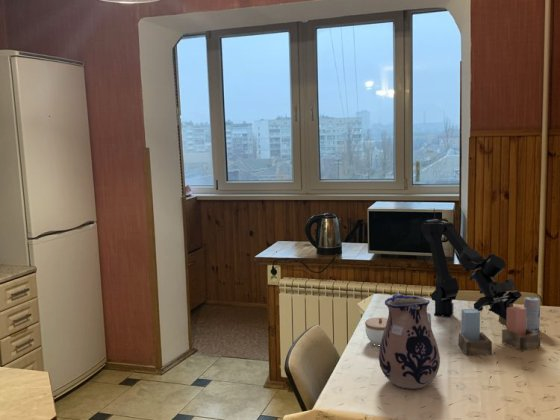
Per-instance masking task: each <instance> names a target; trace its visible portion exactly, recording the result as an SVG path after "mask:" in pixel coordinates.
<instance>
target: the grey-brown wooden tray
mask: <svg viewBox="0 0 560 420" xmlns="http://www.w3.org/2000/svg"><path fill="white" fill-rule="evenodd" d="M541 335H542V334H541V333H540V332H539V331H537V332H535V331H532V330H529V329H526V335H524V336H521V335H519V334H516V333H513V332H510V331H508V330H506V328H504V329H502V330H501V343H503V344H505V345H508V346H510V347H513V348H515V349H517V350H521V351H523V352H524V351H528V350H532V349H534V348H538V347H541Z"/></svg>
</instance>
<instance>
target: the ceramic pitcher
mask: <svg viewBox="0 0 560 420" xmlns="http://www.w3.org/2000/svg"><path fill="white" fill-rule="evenodd" d="M430 302H431V301H430V300H429V299H426V298H424V297H421V296H415V295H413V296H411V295H404V294H402V293H400V292H396V293H394V294H393V295H392V296H391V297H388V298H387V299H385V301H384V305H385V306H386V307H387V308H388V315H387V318H388V320H387V323H386V327H385V330H384V333H383V335H382V340H381V344H380V346H379V350H378V351H379V352H378V361H379V362H378V363H379V367H380V369H381V371H382V373H383V374H384V377H385V378H386V379H387V380H389V382H391V383H392V384H393V385H395V386H396V387H399V388H402V389H410V390H412V389H413V390H415V389H416V390H417V389H422V388H424V387H426V386H428V384H430V383H431V382H432V381H433V380H434V379H435V378H436V376H437V373H438V372H439V369H440V365H441V357H440V351H439V348H438V344H437V341H436V338H435V335H434V332H433V329H432V325H431V326H430V323H429V320H428V316H427V312H428V306H429V304H430Z"/></svg>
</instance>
